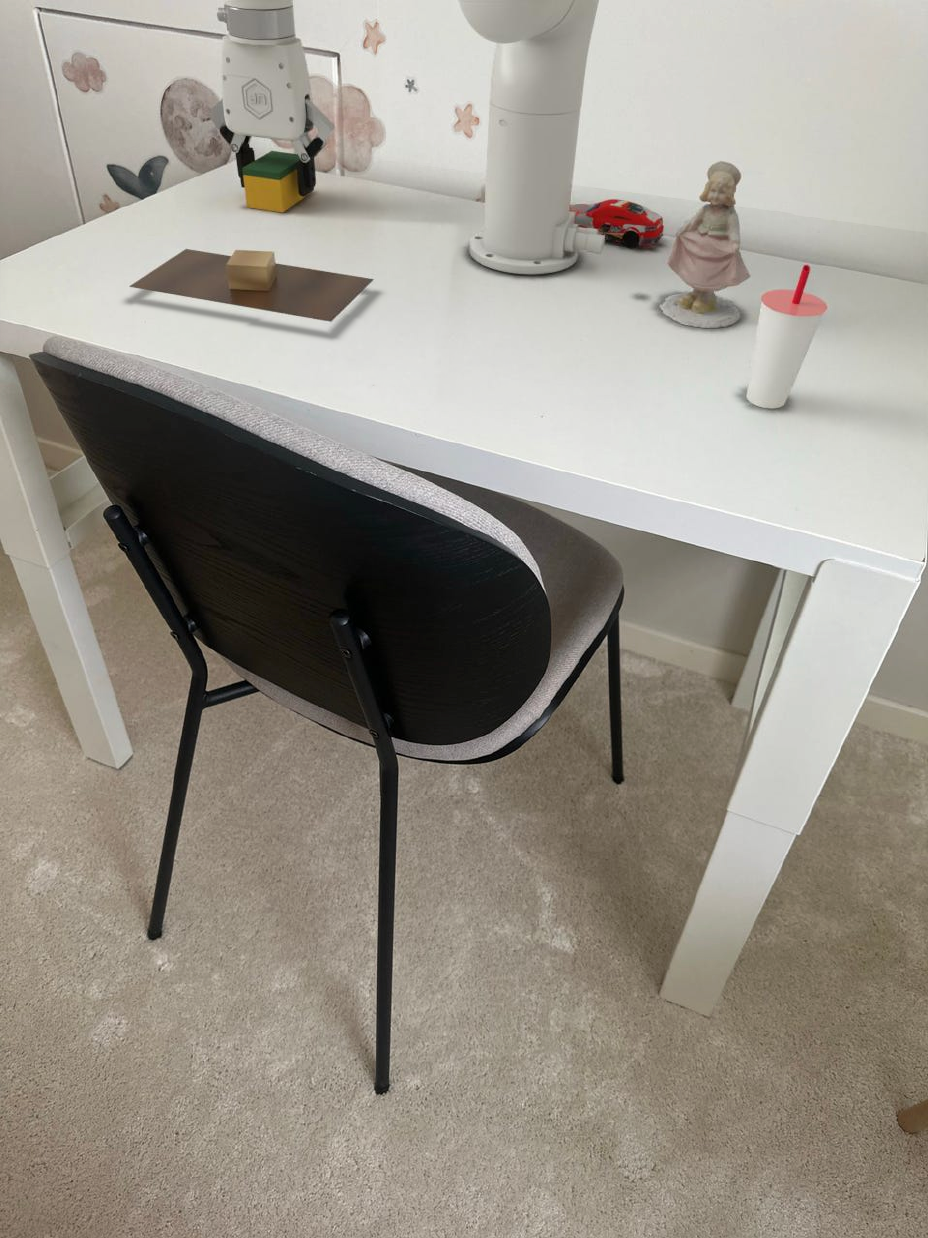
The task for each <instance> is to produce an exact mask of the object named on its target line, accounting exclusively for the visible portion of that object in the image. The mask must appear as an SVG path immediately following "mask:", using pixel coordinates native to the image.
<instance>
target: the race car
mask: <svg viewBox="0 0 928 1238" xmlns="http://www.w3.org/2000/svg"><path fill="white" fill-rule="evenodd" d="M569 211H571V212H575V221H574V224H578V227H582V228H593V229H598V235H605V241H611V242H615V243H623V244H624V246H625V247H626V248H628V249H633V248H636V247H637V246H649V245H654V244H658V243H659V241H660V240H661V239H662V237H663V236H664V233H663V232H664V228H665V227H664V219H663V216H662V215H660V214H659V213H656V212H655V211H652V210H651V209H649V208H648V207H646V206H644V205H641V204H638V203H635V202H632V201H629V200H624V199H618V198H612V199H606V200H602V201H600V202H596V203H594V204H591V203H590V204H589V203H587V204H586V203H576V204H570V210H569Z"/></svg>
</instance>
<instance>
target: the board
mask: <svg viewBox="0 0 928 1238" xmlns="http://www.w3.org/2000/svg"><path fill="white" fill-rule="evenodd" d="M231 256H232V255H227V254H220V253H214V252H208V251H201V250H196V249H189V248H185V249H184V250H182V251H181V252H179V253H177V254H176V255H175V256H172V257H171V258H170V259H168V260H167V261H165V262H163V263H162V264H160V265H159V266H158V267H156V268H155V269H153V270H152V271H150V272H148V273H147V274H146V275H144V276H143V277H141V278H140V279H138V280H137V281H135V282H133V283H132V284H131V285H129V288H133V289H139V290H144V291H145V290H147V291H152V292H158V293H162V294H169V295H175V296H181V297H186V298H191V299H199V300H203V301H208V302H215V303H221V304H227V305H232V306H238V307H244V308H249V309H254V310H260V311H267V312H272V313H273V312H274V313H278V314H285V315H290V316H297V317H301V318H307V319H313V320H319V321H324V322H332V321H333V320H334V319H335V318H336V317H338V315H340V314H341V313H342V312H343V311H344V309H345V308H347V307H348V306H349V305H350V304H351V303H352V302H353V301H354V300H355V299H356V297H358V296H359V295H360V294H361V293H362V292H363V291H364V290H365V289H366V288H367V287H368V286H369V285H370V284H371V283H372V282H373V281H374V279H373V278H368V277H363V276H357V275H350V274H344V273H338V272H331V271H325V270H319V269H313V268H307V267H300V266H294V265H288V264H282V263H276V262H275V264H276V273H277V276H276V278H275V280H274V282H273V284H272V286H271V288H270V290H269V291H257V290H237V289H230V287H229V281H228V274H227V267H226V264H227V263H228V261H229V259H230V258H231Z"/></svg>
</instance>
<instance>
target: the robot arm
mask: <svg viewBox="0 0 928 1238" xmlns="http://www.w3.org/2000/svg"><path fill="white" fill-rule="evenodd" d="M599 3H600V0H458V4H459V6H460V9H461V11H462V14H463V16H464V18H465V20H466V22H467V23H468V24H469V26H470V27H471V28H472V29H473V30H474V31H475V32H476V33H477V34H478V35H479V36H480V37H482V38H483V39H484V40H487V41H490V42H492V43H495V49H494V54H493V59H492V60H493V61H492V68H491V76H490V94H489V98H490V99H489V108H488V109H489V110H488V127H487V128H488V129H487V149H486V151H487V152H486V153H487V154H486V169H485V170H486V171H485V172H486V173H485V174H486V175H485V191H484V193H485V194H484V211H483V212H484V216H483V230H481V231H479V232H477V233H476V234H474V235H473V236H471V239H470V240H469V245H468V247H469V248H468V249H469V254H470V257H471V258H472V259H473V260H474V261H476V262H477V263H478V264H480V265H481V266H484V267H487V268H489V269H492V270H495V271H499V272H503V273H509V274H515V275H546V274H553V273H557V272H561V271H563V270H567V269H568V268H570V267H572V266H573V265H574V264H575V263H576V262H577V261H578V259H579V252H580V251H585V252H586V253H593V254H600V255H602V254H603V252H604V248H605V243H606V240H605V235H598V229H593V228H582V227H578V224H574V221H575V212H571V211H569V210H570V205H571V201H572V192H573V182H574V171H575V165H576V164H575V163H576V155H577V146H578V145H577V144H578V137H579V126H580V117H581V109H582V102H583V95H584V94H583V93H584V85H585V77H586V69H587V61H588V54H589V49H590V44H591V40H592V39H591V38H592V34H593V29H594V25H595V22H596V21H595V20H596V16H597V11H598V7H599ZM223 5H224V7H218V8H217V11H216V17H217V20H218V21H219V22H223V23H224V24H226V29H227V32H228V34H226V35H224V36H222V40H221V41H222V43H221V59H220V60H221V61H220V62H221V63H220V72H221V73H220V74H221V75H220V77H221V78H220V79H221V95H222V98H221V99H220V100H219V101H218V102H217V103H216V104H215V105H214V106H213V107H212V108H211V109H210V110H209V111H208V116H209V119H210V120H211V121H212V123H213V124H214V125H215V127H216V128H217V129H218V130H219V133H220V135H221V137H222V138H223V139H224V140H225V142H227V144H228V146H229V148H230V150H231V153H233V154H235V161H236V169H237V176H238V177H239V179H240V187H241V188H244V189H245V186H244V178H243V170H242V168H243V167H245V166H247V165H248V164H250V163H252V162H253V161H255V160H256V156H255V150H254V148H253V147H250V145H251V144H250V143H251V141H252V139H253V137H254V138H262V139H269V140H277V141H284V142H285V141H287V142H290V143H291V144H292V146H293V148H294V150H295V152H296V154H298V156H299V157H300V161H298V162H297V163H296V168H297V180H298V191H299V195H300V196H304V198H306V197H307V196H309V195H310V194H311V193H312V192H314V190H315V187H316V184H317V178H316V177H317V175H316V163H315V161H316V160H315V158H316V157H317V156H318V154H319V153H320V152H321V151H322V150H323V148H324V147H325V146H326V145H327V142H328V141H329V140H330V138H331V137H332V135H333V134H334V132H335V131H336V126H335V124H334V123H333V122H332V121H331V120H330V119H329V118H328V117H327V116H326V115H325V114H324V112H322V111H321V110H320V109H319V108H318V107H317V106H316V105H315V103H314V101H313V93H312V86H311V79H310V73H309V68H308V63H307V58H306V55H305V51H304V47H303V44H302V40H301V38H299V37H296V23H295V22H296V21H295V9H294V1H293V0H224V4H223ZM314 127H316V128H317V133H316V135H315V136H314V138H312V136H311V135H310V132H311V131H313V129H314ZM309 193H310V194H309ZM308 194H309V195H308ZM306 195H307V196H306ZM305 196H306V197H305Z"/></svg>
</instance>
